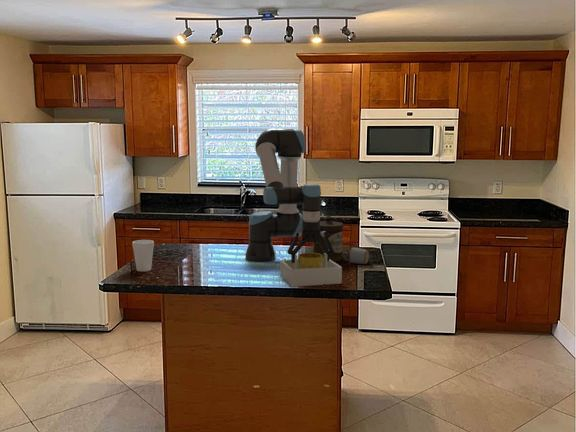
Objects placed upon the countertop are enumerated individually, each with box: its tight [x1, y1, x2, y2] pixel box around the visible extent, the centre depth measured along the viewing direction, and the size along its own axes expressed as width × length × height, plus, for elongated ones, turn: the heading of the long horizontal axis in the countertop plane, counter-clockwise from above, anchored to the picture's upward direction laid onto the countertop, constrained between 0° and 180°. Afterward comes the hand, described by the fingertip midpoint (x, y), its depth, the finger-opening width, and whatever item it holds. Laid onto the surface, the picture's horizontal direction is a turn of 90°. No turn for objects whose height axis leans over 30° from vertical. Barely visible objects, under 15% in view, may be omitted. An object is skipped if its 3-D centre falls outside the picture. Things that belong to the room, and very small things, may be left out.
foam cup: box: [132, 239, 155, 272], centre depth 246 cm, size 10×9×13 cm
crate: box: [279, 258, 343, 287], centre depth 233 cm, size 18×22×7 cm
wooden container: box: [312, 215, 344, 263], centre depth 273 cm, size 15×15×22 cm
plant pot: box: [297, 252, 323, 269], centre depth 233 cm, size 10×10×10 cm
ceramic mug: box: [348, 246, 370, 265], centre depth 265 cm, size 11×8×8 cm
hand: (310, 269), depth 233 cm, fingers open, 13 cm apart
